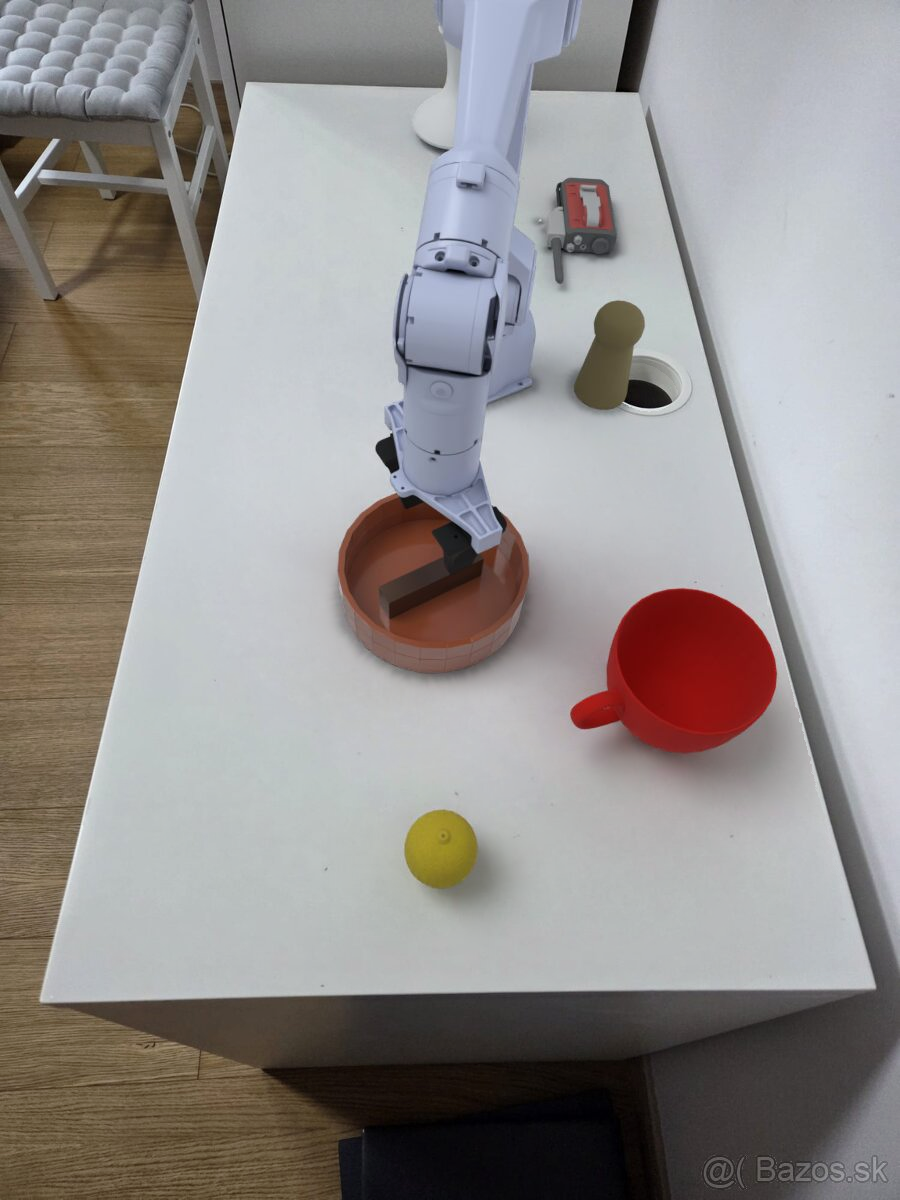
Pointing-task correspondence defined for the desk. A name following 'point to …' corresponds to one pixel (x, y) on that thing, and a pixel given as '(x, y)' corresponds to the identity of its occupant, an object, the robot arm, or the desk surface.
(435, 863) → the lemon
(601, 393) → the olive brown pawn
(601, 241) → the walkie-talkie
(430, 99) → the flower in vase
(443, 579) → the brown rectangular block
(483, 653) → the bowl
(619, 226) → the desk surface
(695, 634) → the ceramic cup
